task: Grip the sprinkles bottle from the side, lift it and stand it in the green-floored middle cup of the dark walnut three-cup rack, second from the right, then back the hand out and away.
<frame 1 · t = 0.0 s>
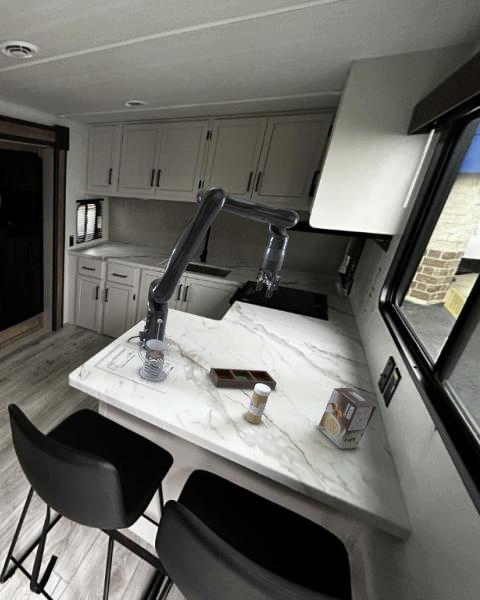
hand: (263, 293, 139), 29 cm above the table, tool pointing down, fingers open, 8 cm apart
rack: (240, 382, 127), on the table
french press: (149, 373, 130), on the table
sprinkles bottle: (252, 419, 108), on the table
coffee box: (336, 437, 102), on the table
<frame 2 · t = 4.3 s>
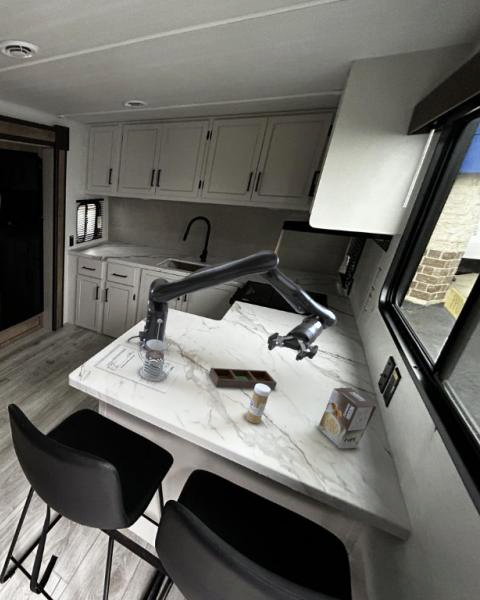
hand: (283, 352, 107), 22 cm above the table, tool horizontal, fingers open, 8 cm apart
nothing on the table moved.
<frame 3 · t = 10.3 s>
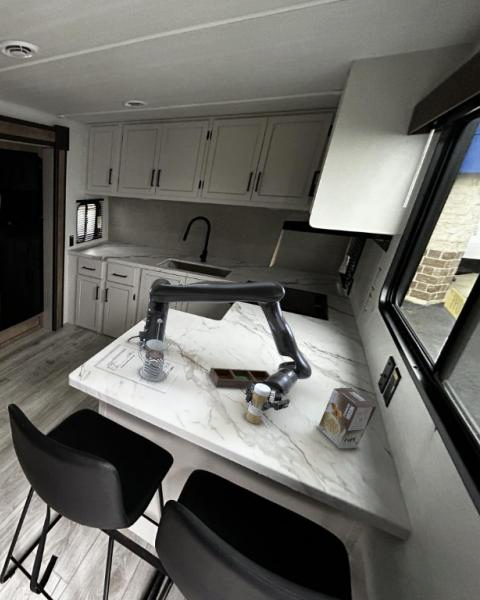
hand: (255, 404, 103), 8 cm above the table, tool horizontal, fingers closed on sprinkles bottle, 4 cm apart
sprinkles bottle: (252, 419, 108), on the table, touching gripper
everything else where it was.
when the fingers open (9 cm above the table, at t = 18.0 s): sprinkles bottle stays where it is, resting on rack.
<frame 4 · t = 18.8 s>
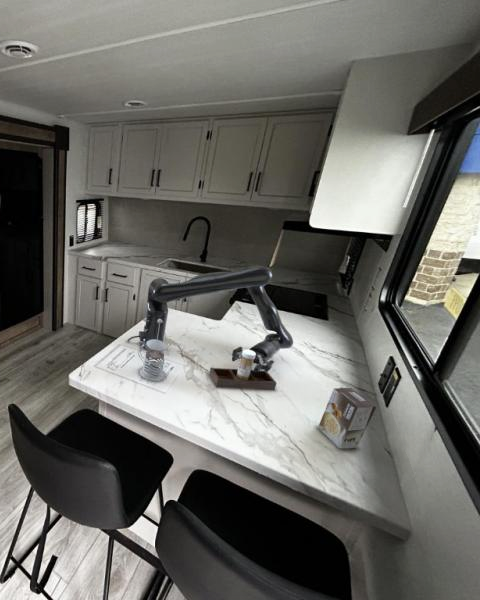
hand: (243, 364, 122), 9 cm above the table, tool horizontal, fingers open, 8 cm apart
sprinkles bottle: (241, 381, 127), point 1 cm above the table, touching rack
everything else where it was.
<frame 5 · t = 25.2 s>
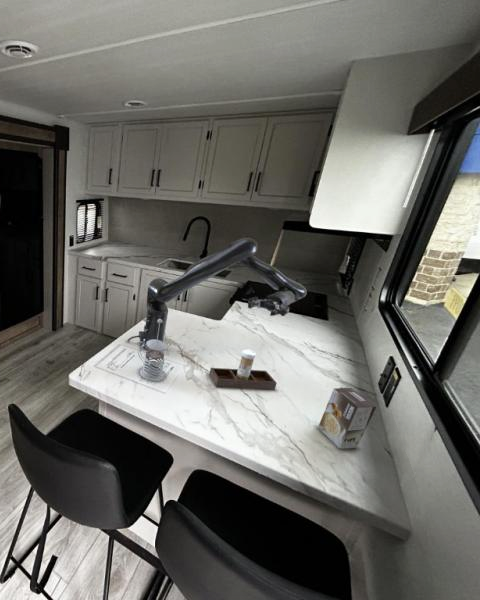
hand: (260, 309, 125), 28 cm above the table, tool horizontal, fingers open, 8 cm apart
nothing on the table moved.
at the end: sprinkles bottle 0.1 cm off-centre in the rack, point 0.5 cm above the rack's base; sprinkles bottle tilted 0°; the gripper is holding nothing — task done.
